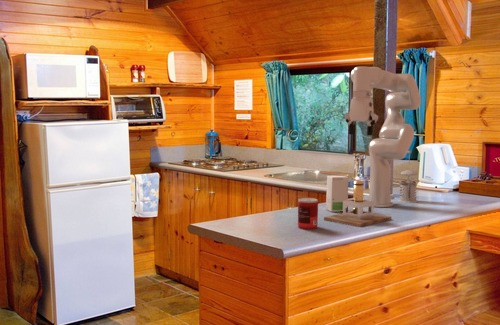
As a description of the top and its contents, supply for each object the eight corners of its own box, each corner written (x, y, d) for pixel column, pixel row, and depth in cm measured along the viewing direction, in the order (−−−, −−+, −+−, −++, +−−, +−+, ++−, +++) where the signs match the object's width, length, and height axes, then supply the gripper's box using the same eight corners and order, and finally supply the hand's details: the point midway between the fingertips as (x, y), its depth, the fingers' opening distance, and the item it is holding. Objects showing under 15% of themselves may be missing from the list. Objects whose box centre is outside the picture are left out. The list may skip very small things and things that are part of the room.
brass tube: (356, 215, 252) (357, 180, 251) (364, 216, 249) (365, 181, 248) (350, 216, 250) (351, 180, 248) (358, 218, 247) (359, 181, 245)
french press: (416, 199, 301) (418, 149, 299) (420, 203, 290) (422, 151, 287) (396, 199, 302) (397, 149, 299) (399, 203, 291) (401, 151, 288)
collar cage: (355, 213, 256) (356, 198, 255) (373, 217, 249) (373, 200, 249) (342, 216, 250) (342, 200, 249) (360, 219, 243) (360, 203, 242)
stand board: (356, 213, 264) (356, 210, 264) (391, 219, 251) (391, 216, 251) (324, 219, 249) (324, 217, 248) (359, 226, 236) (359, 223, 235)
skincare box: (330, 212, 266) (331, 177, 264) (325, 209, 272) (325, 175, 271) (348, 211, 268) (349, 176, 266) (342, 208, 274) (343, 174, 273)
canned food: (315, 225, 238) (316, 197, 237) (318, 229, 230) (319, 201, 229) (296, 225, 238) (297, 197, 237) (299, 229, 230) (299, 201, 229)
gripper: (383, 95, 257) (382, 135, 259) (350, 95, 270) (349, 133, 272) (373, 95, 252) (372, 136, 254) (340, 95, 265) (339, 134, 266)
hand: (360, 134), depth 263 cm, fingers open, 9 cm apart
